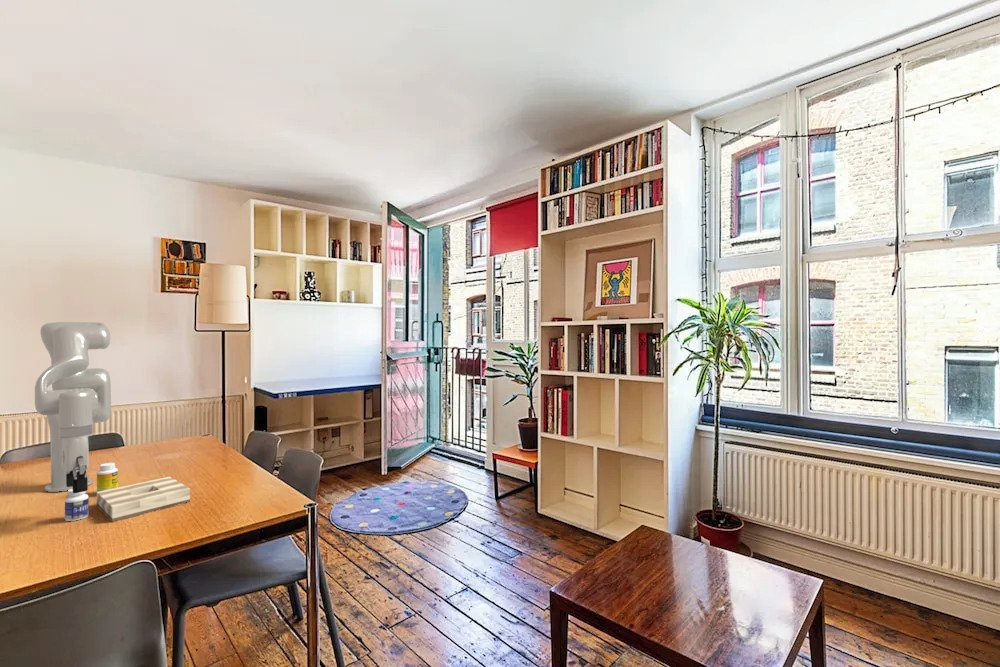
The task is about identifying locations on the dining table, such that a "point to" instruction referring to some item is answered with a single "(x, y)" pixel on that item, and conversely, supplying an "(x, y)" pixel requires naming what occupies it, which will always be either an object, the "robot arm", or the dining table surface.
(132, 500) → the socket block
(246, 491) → the dining table surface
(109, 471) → the supplement bottle
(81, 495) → the pill bottle
